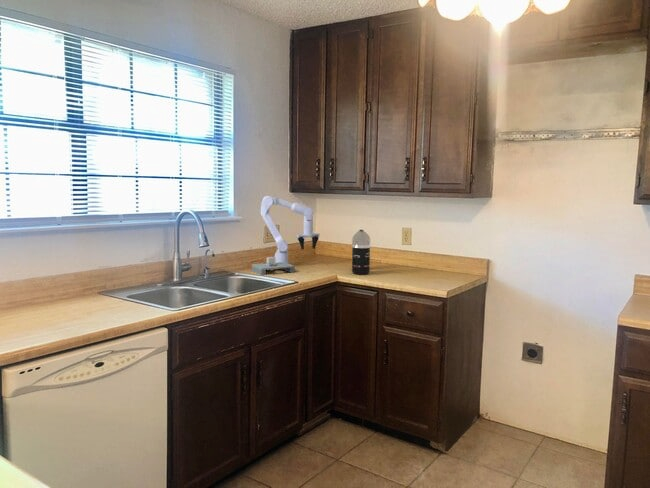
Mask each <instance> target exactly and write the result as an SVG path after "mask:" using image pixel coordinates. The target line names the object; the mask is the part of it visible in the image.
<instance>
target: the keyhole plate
mask: <svg viewBox="0 0 650 488" xmlns="http://www.w3.org/2000/svg"><path fill="white" fill-rule="evenodd" d="M268 269H274V270H277V269H280V270H283V271H286V272H288V273H296V272H295V269H296V268H295V265H294V264H290V263H289V262H288V263H285V262H278V263H275V265H272V267H271V265H268V264H266V263H255V264H254V263H253V264H251V271H252V272H254V273H256V274H258V275H261V276H265V275H267V274H266V272H267V271H268ZM266 270H267V271H266Z"/></svg>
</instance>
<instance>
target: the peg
mask: <svg viewBox="0 0 650 488" xmlns="http://www.w3.org/2000/svg"><path fill="white" fill-rule="evenodd" d="M265 262H266V264H268V265H271V267H273V265H275V256H267V257H266V261H265ZM267 271H275V269H267Z"/></svg>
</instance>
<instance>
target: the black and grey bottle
mask: <svg viewBox="0 0 650 488" xmlns="http://www.w3.org/2000/svg"><path fill="white" fill-rule="evenodd" d="M351 240H352V241H351V249H352V251H351V253H352V254H351V255H352V256H351V258H352V259H351V272H352V274H353V275H359V276H365V275H369V274H370V272H371V270H370V265H371V259H370V258H371V238H370V235H369V233H367V232H366V231H365V230H364V229H359V230H358V231H356V233H354V234H353V236H352V239H351Z"/></svg>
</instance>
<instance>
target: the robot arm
mask: <svg viewBox="0 0 650 488" xmlns="http://www.w3.org/2000/svg"><path fill="white" fill-rule="evenodd" d="M260 203H261V204H260V216H261V218H262V219H263V221H264V222H265V225H266V226H267V228H268V230H269V232H270V233H271V235H272V237H273V239H274V241H275V243H276V248H277V249H276V252H275V253H274V257H275V263H278V262H285V263H288V264H289V245H288V243H287V241H285V240H284V238H283V236H282V235H281V233H280V231H279V230H278V228H277V226H276V224H275V223H274V220H273V219H272V216H271V215H270V214H269V213H270V210H271V208H272V206H273V205H274V206H277V205H280V206H283V207H286V208H289V209H290V210H291V211H292V212H294V213H295V214H299V215H303V233H300V234H298V233H297V234H296V238H297V240H298V242H299V246H300V247H301V248H300V249H301V250H303V251H304V249H305V238H311V241H312V243H311V244H312V245H311V247H312V249H313V250H315V249H316V245H317V243H318V241H319V238H320V233H314V231H313V230H314V227H313V226H314V216H313V215H314V210H313V208H312V207H309V206H308V205H307V204H306V205H304V204H301V203H300V202H293V203H291V202H289V201H286V200H284V199H281V198H279V197H276V196H270V195H265V196H264V197H263V198H262V200H261V202H260Z"/></svg>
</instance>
